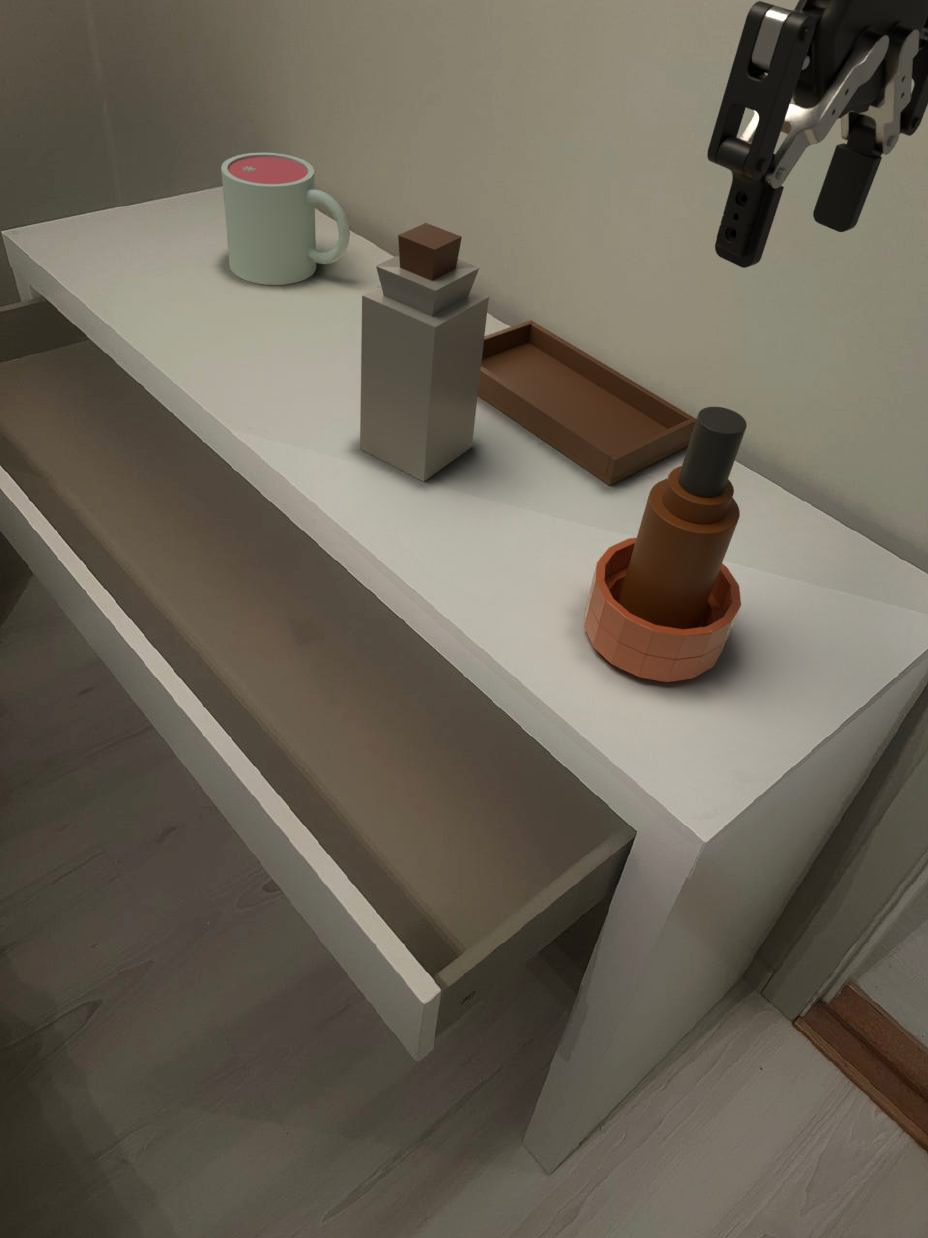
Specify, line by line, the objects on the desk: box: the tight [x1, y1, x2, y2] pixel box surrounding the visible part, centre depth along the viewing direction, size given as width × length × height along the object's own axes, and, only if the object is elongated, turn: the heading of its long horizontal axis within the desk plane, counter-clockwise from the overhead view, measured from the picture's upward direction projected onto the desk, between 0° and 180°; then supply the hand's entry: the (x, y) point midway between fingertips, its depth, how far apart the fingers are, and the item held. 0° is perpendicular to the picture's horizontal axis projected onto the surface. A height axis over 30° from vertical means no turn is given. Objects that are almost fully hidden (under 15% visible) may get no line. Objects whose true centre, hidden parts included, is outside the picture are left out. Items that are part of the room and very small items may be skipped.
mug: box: [220, 152, 351, 286], centre depth 97 cm, size 14×9×10 cm
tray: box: [478, 319, 697, 486], centre depth 84 cm, size 21×11×3 cm, turn 41°
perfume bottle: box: [359, 222, 490, 482], centre depth 72 cm, size 7×7×18 cm
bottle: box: [618, 406, 748, 629], centre depth 59 cm, size 6×6×17 cm
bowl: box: [583, 537, 742, 683], centre depth 63 cm, size 10×10×5 cm
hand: (786, 242), depth 46 cm, fingers open, 8 cm apart
